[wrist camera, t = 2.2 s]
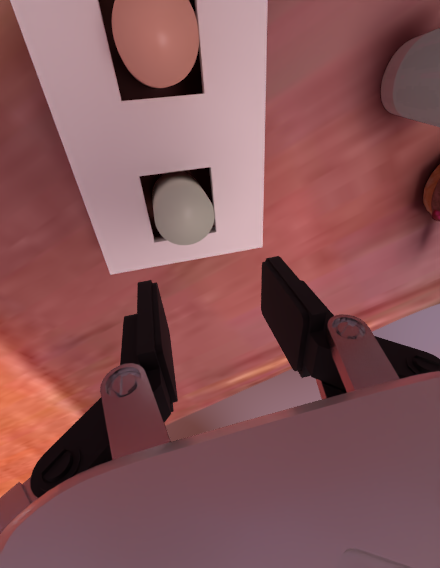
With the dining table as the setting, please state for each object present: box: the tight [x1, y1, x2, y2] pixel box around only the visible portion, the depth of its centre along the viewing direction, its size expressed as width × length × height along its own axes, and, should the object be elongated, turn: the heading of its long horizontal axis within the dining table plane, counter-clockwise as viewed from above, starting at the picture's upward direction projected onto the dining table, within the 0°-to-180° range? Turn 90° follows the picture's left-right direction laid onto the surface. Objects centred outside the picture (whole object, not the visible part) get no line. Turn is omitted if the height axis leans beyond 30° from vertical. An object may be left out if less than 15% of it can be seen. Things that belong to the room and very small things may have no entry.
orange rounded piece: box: [112, 0, 199, 89], centre depth 16 cm, size 4×4×5 cm
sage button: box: [152, 171, 215, 245], centre depth 22 cm, size 4×4×5 cm
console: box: [10, 0, 268, 275], centre depth 18 cm, size 30×14×5 cm, turn 5°
